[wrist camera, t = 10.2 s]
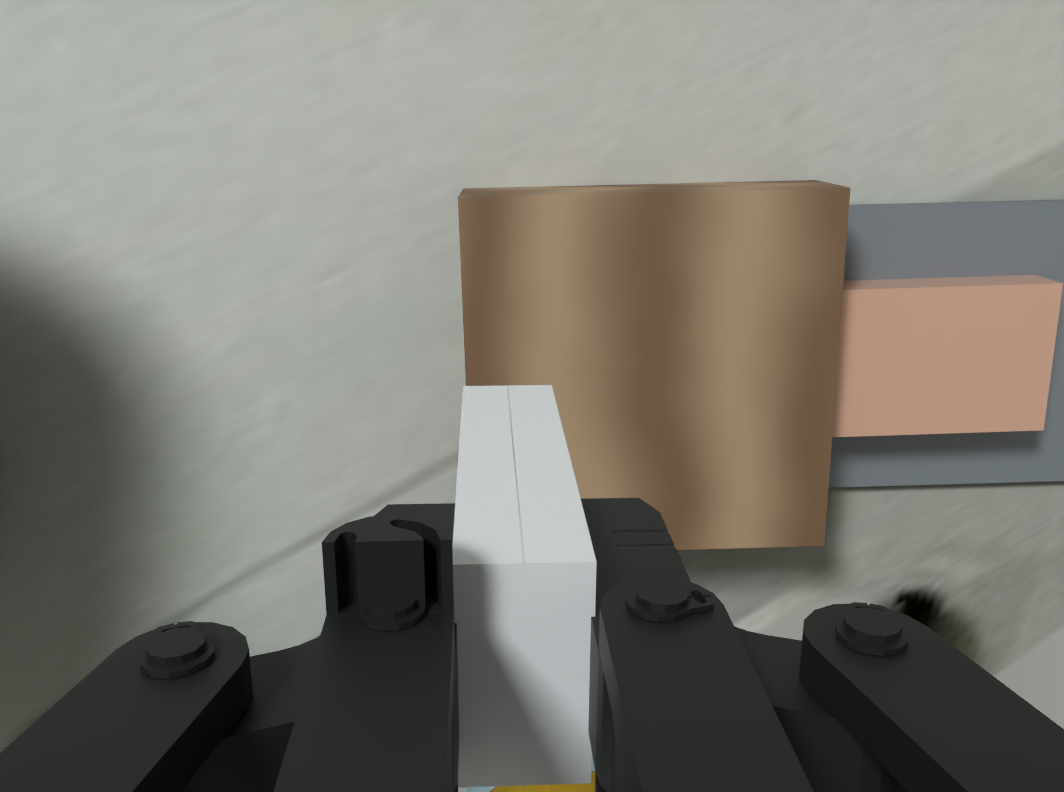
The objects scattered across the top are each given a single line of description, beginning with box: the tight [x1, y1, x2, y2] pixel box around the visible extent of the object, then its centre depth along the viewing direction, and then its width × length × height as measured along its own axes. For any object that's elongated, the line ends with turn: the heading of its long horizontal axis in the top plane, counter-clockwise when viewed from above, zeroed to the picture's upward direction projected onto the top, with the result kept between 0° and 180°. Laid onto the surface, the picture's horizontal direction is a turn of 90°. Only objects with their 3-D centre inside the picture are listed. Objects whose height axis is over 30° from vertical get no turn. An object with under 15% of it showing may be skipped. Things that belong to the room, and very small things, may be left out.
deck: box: [458, 180, 850, 550], centre depth 38 cm, size 14×14×4 cm
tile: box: [832, 275, 1063, 437], centre depth 38 cm, size 9×6×2 cm, turn 92°
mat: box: [829, 200, 1064, 488], centre depth 40 cm, size 14×12×1 cm
